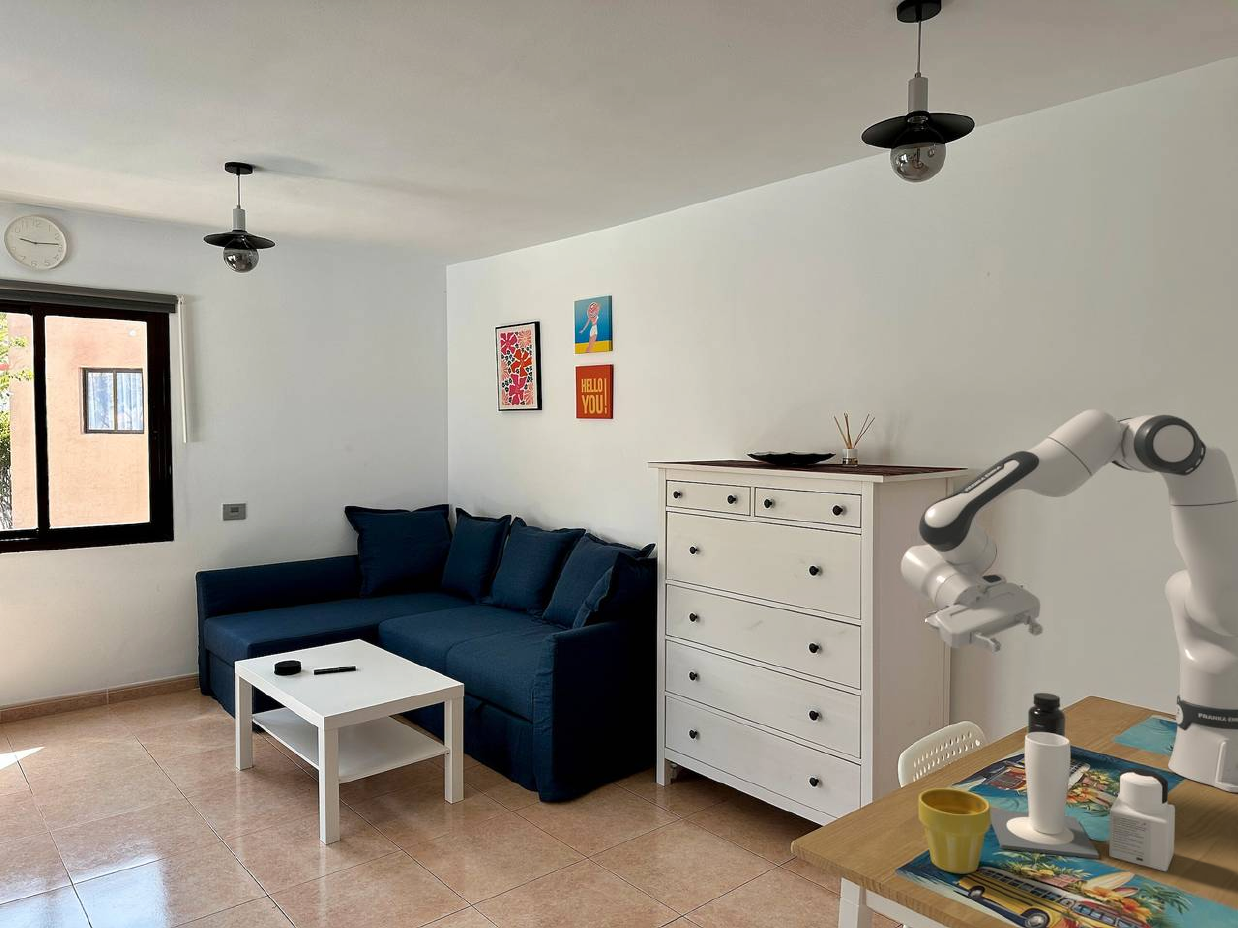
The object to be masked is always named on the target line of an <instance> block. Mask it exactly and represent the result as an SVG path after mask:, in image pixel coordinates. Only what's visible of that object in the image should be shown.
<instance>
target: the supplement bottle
mask: <svg viewBox="0 0 1238 928" xmlns="http://www.w3.org/2000/svg"><path fill="white" fill-rule="evenodd" d="M1060 707H1061V697H1060V696H1059V695H1056V694H1052V693H1048V692H1038V693H1034V694H1033V706H1031V707H1030V708H1029V709H1028V712H1027V734H1028V733H1032V732H1046V733H1052V734H1057V735H1060V736H1063V737H1065V738H1066V716H1065V715H1066V714H1065V713H1064V712H1063V710H1061V709H1060Z"/></svg>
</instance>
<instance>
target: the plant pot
mask: <svg viewBox="0 0 1238 928" xmlns="http://www.w3.org/2000/svg"><path fill="white" fill-rule="evenodd" d="M917 800H918V809H917V810H918V819H919V821H920V822H921V824H922V825H923V828H924V832H925V836H926V840H927V845H928V850H929V855H930V860H931V863H932V864H933V865H934V866H935V867H937V868H939V869H940V870H943V871H946V872H949V873H951V874H952V873H953V874H960V875H961V874H962V875H963V874H971V873H973V872H976V870H977V869H978V868H979V862H980V859H981V853H982V849H983V844H984V840H985V837H986V836H985V834H986V833H988V832H989V830H990V829H991V811H990V809H991V805H990V803H989V802H988V800H987V799H985V798H984V797H982V796H980V795H979V794H977V793H974V792H971V791H968V790H964V789H963V790H962V789H958V788H950V787H936V788H930V789H926V790H923V791H922V792H921V793H919V795H918V798H917Z"/></svg>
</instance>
